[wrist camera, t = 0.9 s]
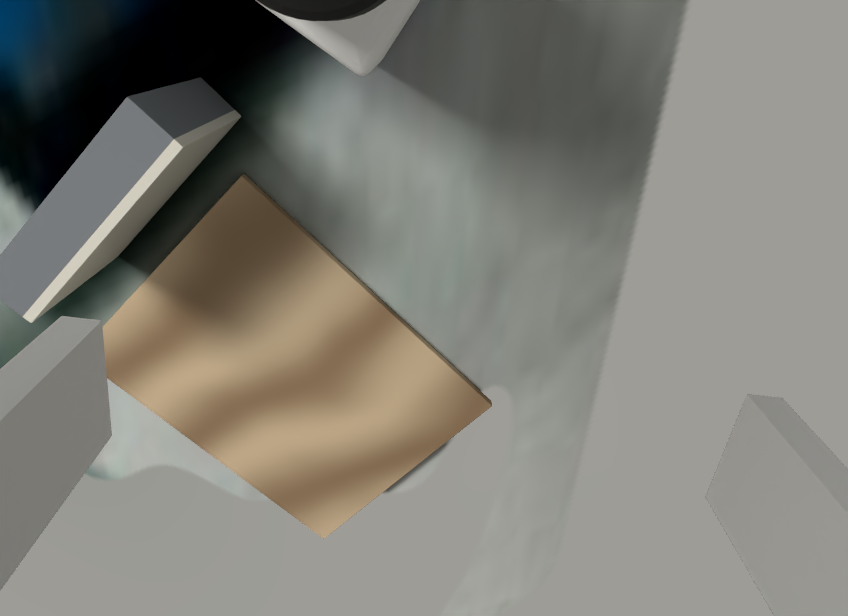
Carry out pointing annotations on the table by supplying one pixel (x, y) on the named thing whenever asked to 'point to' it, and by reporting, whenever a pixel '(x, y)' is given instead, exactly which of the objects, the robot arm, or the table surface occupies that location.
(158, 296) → the mat
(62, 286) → the tile
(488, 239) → the table surface
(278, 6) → the medicine bottle
